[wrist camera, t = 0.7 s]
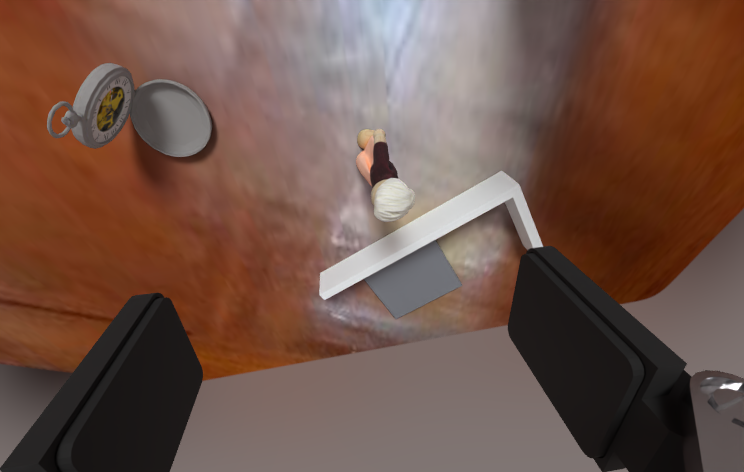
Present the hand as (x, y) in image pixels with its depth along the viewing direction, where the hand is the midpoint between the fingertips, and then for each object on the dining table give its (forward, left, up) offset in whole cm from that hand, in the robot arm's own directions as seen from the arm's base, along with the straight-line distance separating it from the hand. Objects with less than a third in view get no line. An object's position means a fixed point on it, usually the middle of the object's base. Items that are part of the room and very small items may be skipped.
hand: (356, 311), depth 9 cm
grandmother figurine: (-1, +5, -27) cm, 28 cm away
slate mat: (+3, +21, -27) cm, 35 cm away
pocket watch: (+13, -9, -27) cm, 31 cm away
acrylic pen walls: (0, +20, -27) cm, 33 cm away
